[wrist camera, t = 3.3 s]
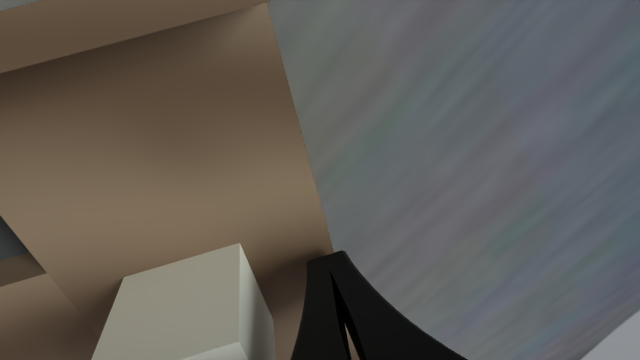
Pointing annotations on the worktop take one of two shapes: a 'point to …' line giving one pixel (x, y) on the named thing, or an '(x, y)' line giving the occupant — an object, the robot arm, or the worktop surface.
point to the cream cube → (190, 312)
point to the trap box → (144, 162)
